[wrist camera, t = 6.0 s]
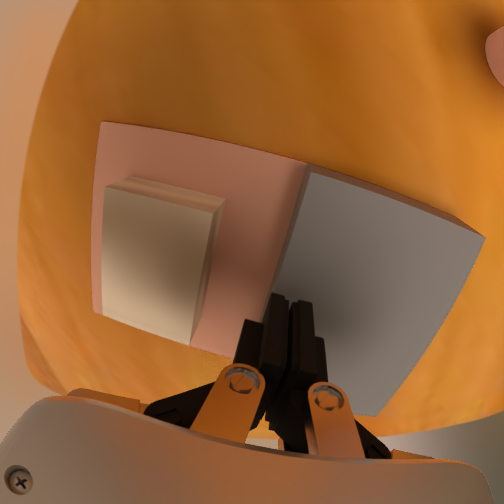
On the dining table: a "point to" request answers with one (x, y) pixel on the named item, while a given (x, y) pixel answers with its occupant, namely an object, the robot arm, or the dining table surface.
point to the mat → (232, 223)
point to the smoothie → (496, 54)
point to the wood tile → (157, 255)
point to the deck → (372, 278)
